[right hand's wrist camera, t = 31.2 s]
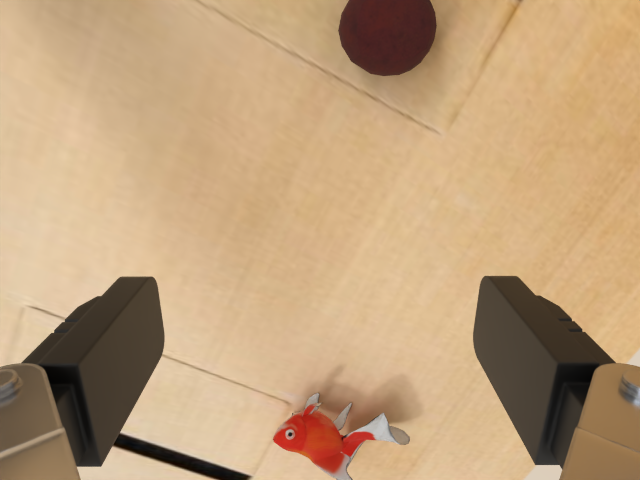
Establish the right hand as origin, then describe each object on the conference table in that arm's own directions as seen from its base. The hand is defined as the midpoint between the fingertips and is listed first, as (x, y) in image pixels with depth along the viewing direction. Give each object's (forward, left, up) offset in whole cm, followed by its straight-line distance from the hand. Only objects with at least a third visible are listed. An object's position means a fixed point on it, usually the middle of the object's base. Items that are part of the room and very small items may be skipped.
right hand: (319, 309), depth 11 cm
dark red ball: (-9, +5, -34) cm, 35 cm away
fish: (+33, +6, -34) cm, 47 cm away
